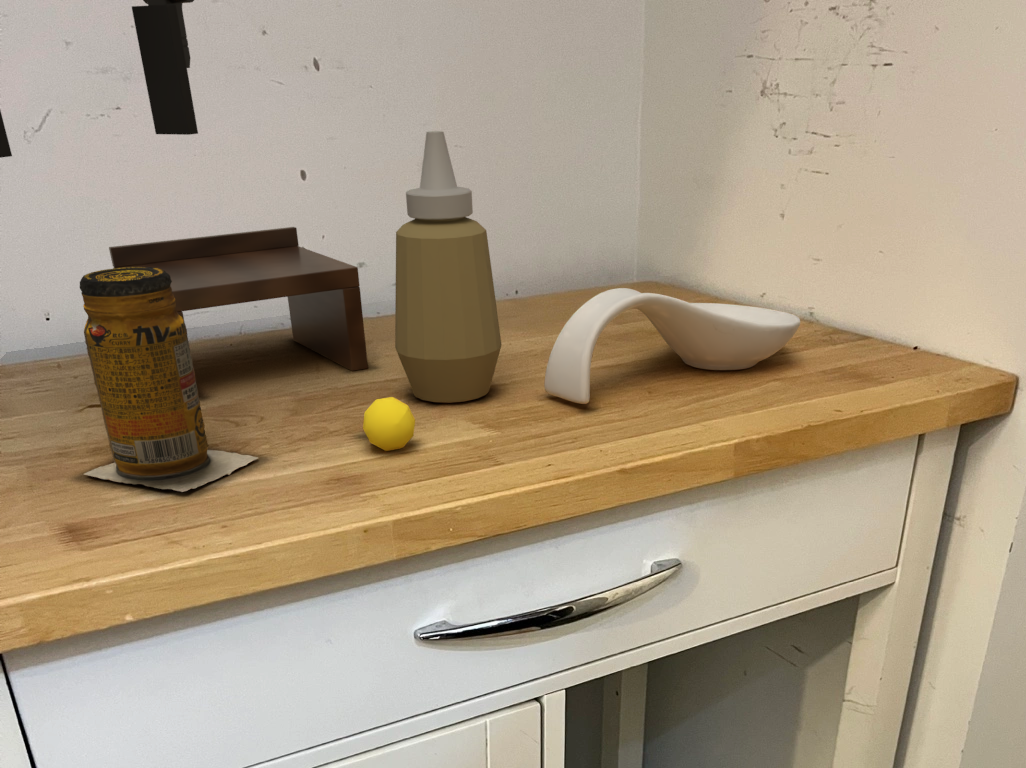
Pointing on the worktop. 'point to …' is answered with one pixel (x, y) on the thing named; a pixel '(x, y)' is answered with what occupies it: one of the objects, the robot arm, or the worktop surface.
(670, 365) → the worktop surface
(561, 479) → the worktop surface
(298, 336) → the walnut shelf
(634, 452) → the worktop surface
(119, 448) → the condiment
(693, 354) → the spoon rest
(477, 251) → the squeeze bottle
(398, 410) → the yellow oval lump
